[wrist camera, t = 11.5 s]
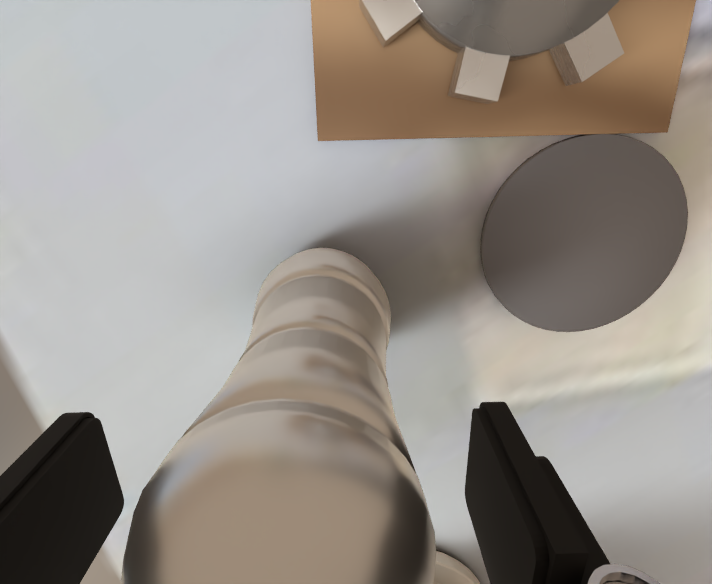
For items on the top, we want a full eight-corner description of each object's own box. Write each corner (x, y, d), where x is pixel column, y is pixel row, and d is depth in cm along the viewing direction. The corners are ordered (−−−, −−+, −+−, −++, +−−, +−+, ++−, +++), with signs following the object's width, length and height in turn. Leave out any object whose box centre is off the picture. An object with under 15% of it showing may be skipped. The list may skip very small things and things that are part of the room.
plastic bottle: (373, 225, 21) (515, 883, 3) (397, 343, 24) (567, 1151, 5) (250, 252, 22) (-410, 981, 3) (285, 365, 24) (40, 1183, 5)
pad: (655, 325, 23) (662, 329, 23) (473, 330, 23) (476, 334, 23) (702, 131, 20) (711, 131, 19) (489, 136, 20) (492, 136, 19)
